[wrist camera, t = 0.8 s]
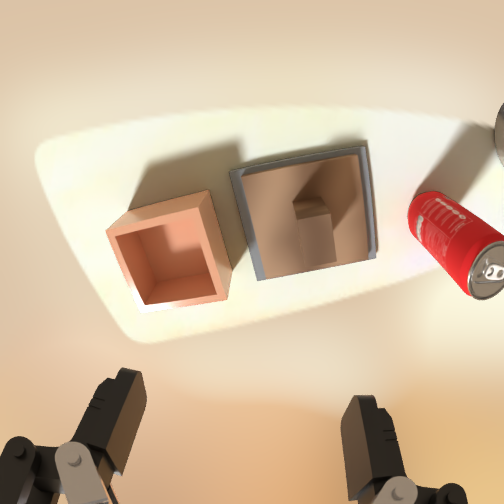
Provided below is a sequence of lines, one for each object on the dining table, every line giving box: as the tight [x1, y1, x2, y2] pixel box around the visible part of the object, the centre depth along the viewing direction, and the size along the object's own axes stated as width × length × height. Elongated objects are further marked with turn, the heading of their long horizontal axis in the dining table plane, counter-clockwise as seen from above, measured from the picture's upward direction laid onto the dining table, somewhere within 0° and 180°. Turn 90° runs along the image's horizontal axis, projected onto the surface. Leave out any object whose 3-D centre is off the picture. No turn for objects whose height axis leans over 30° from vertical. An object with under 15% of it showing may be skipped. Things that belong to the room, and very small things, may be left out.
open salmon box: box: [106, 190, 232, 313], centre depth 28 cm, size 8×8×5 cm
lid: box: [241, 154, 369, 279], centre depth 26 cm, size 10×10×5 cm
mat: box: [229, 146, 376, 281], centre depth 29 cm, size 12×11×1 cm
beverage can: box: [407, 191, 504, 300], centre depth 23 cm, size 5×5×12 cm
